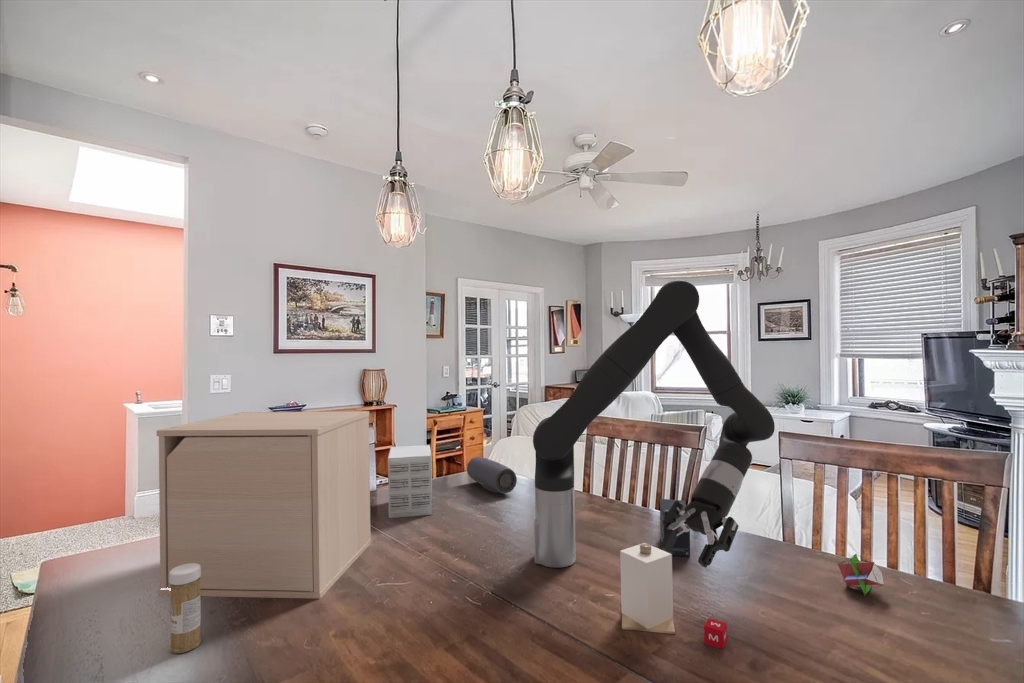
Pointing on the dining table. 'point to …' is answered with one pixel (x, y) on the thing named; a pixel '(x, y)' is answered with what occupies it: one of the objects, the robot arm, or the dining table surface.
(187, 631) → the sprinkles bottle
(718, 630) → the dice
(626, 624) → the coaster
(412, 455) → the supplement box
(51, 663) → the dining table surface
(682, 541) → the small box
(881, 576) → the geometric puzzle
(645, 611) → the white knobbed pillar
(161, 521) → the cabinet
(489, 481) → the bluetooth speaker
